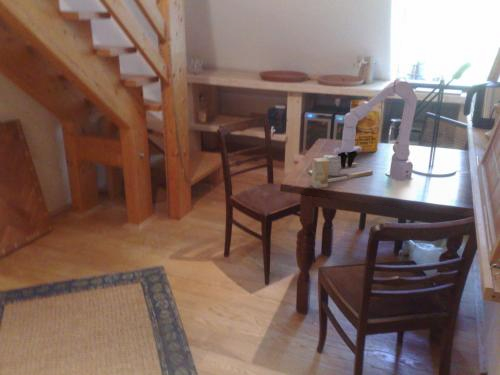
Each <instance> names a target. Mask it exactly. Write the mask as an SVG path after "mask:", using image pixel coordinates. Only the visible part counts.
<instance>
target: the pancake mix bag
mask: <svg viewBox="0 0 500 375" xmlns="http://www.w3.org/2000/svg"><path fill="white" fill-rule="evenodd" d="M369 100H370V99H368V98H367V99H362V98H361V99H352V100H350V105H349V111H350V110H353V109H355V108H356V107H357V106H359V103H360V102H361V103H362V102H368V101H369ZM382 118H383V100H382V101H381V102H379V103H378V104H377V105H375V106H374V107H372V111H371V112H370V113H369V114H368V115H366V116H365V117H364V118H362V119H361V120H359V121H358V122H357V125H356V134H355V145H354V146H360V147H362V150H361V151H356V152H357V153H362V154H363V153H376V152H377V151H378V149H379V148H378V144H379V140H380V133H381V127H382Z"/></svg>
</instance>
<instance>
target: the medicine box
mask: <svg viewBox="0 0 500 375" xmlns="http://www.w3.org/2000/svg"><path fill="white" fill-rule="evenodd" d="M322 158H327V159H328V160H329V161H330V163H329V174H328V176H329V177H330V176H332V177H340V174H341V173H340V172H341V169H340V165H341V156H338V155H334V154H333V155H332V154H331V155H330V154H329V155H328V154H324V155H323V157H322Z"/></svg>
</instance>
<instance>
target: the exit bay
mask: <svg viewBox="0 0 500 375" xmlns="http://www.w3.org/2000/svg"><path fill="white" fill-rule="evenodd" d="M308 173H309V174H310V175H312V169H311V170H308ZM347 179H348V178H347V176H346V175H344V176H336V177H332V178H328V183H330V182H336V181H342V180H347Z"/></svg>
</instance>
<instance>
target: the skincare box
mask: <svg viewBox="0 0 500 375" xmlns="http://www.w3.org/2000/svg"><path fill="white" fill-rule="evenodd" d="M329 163H330V161H329V160H328V159H327V158H323V157H319V158H318V157H317V158H312V168H311V170H312V174H311V180H310V185H311V186H312V187H313V188H314V189H319V188H328V183H329V182H328V179H329V175H328V174H329Z"/></svg>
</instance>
